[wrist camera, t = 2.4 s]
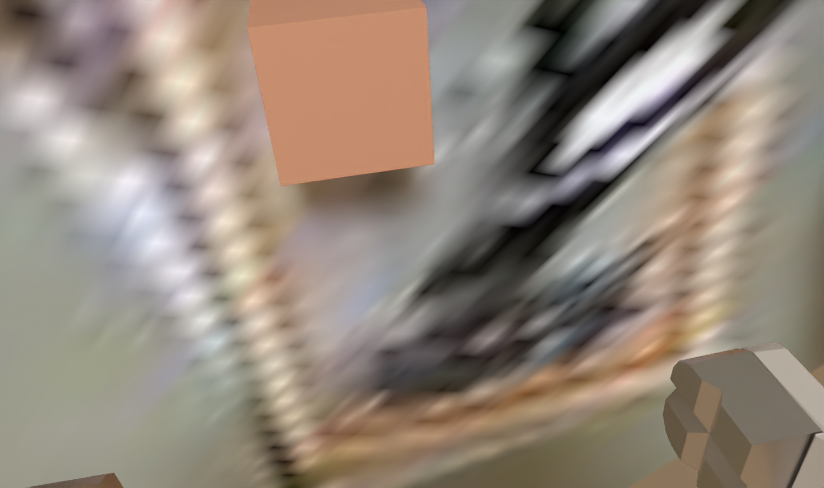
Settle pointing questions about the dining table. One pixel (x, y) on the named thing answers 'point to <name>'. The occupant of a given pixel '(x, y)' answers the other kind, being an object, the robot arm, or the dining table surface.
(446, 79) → the dining table surface
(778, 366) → the robot arm
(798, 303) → the dining table surface
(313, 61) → the terracotta block
